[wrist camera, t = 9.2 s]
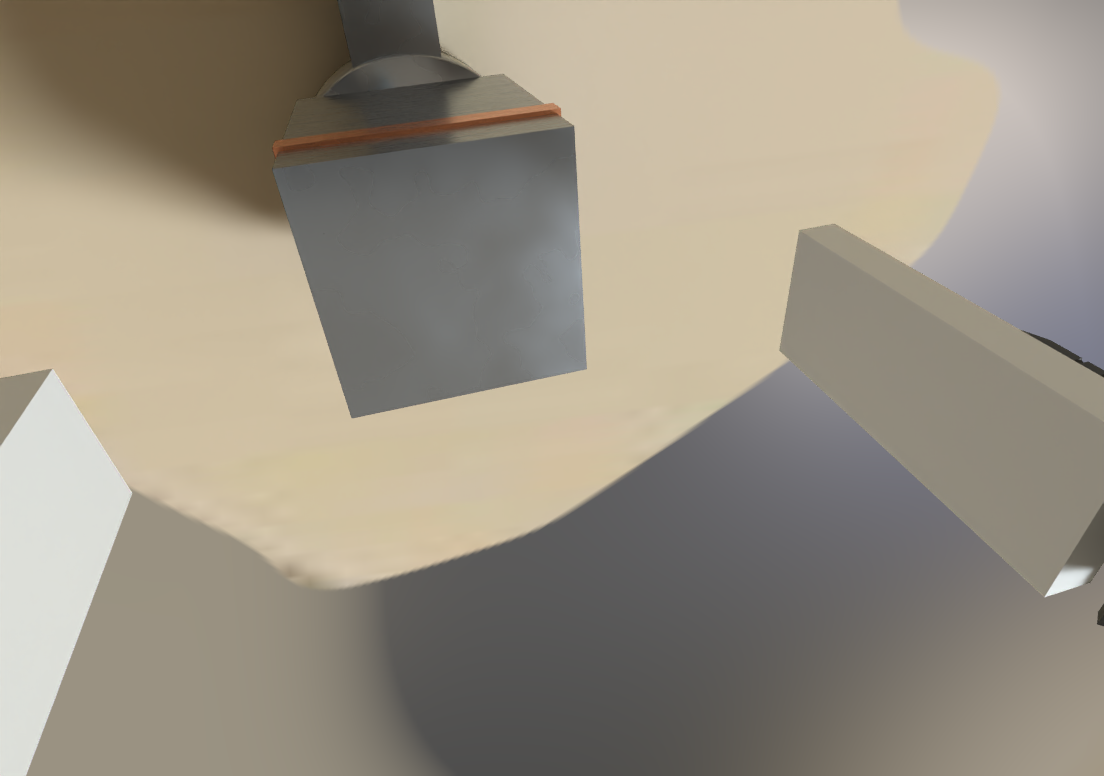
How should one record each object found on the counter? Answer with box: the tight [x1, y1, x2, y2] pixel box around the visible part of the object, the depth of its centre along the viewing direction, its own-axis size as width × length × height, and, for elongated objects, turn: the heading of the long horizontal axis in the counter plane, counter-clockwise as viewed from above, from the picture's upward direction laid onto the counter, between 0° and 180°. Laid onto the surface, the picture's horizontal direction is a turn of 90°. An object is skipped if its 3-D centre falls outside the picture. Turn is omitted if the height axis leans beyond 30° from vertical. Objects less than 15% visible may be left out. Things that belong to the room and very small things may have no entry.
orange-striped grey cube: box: [272, 74, 587, 418], centre depth 19 cm, size 7×7×8 cm
